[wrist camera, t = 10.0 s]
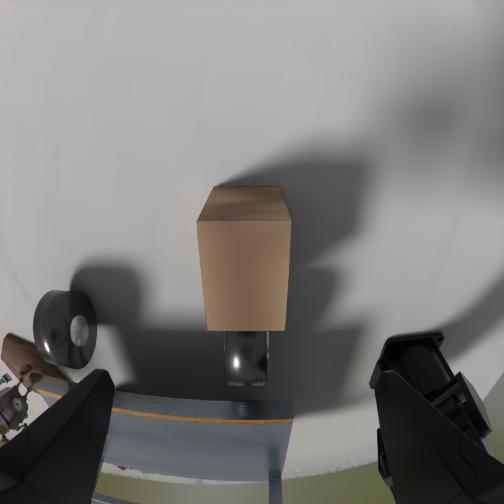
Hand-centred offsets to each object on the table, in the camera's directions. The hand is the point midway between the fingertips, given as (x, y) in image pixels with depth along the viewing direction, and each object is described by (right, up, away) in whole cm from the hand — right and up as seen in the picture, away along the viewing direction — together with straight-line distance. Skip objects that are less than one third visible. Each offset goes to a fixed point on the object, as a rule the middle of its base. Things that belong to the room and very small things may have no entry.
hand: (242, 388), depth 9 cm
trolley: (-7, -6, +17) cm, 19 cm away
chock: (0, +6, +11) cm, 12 cm away
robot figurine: (-26, -10, +19) cm, 33 cm away
